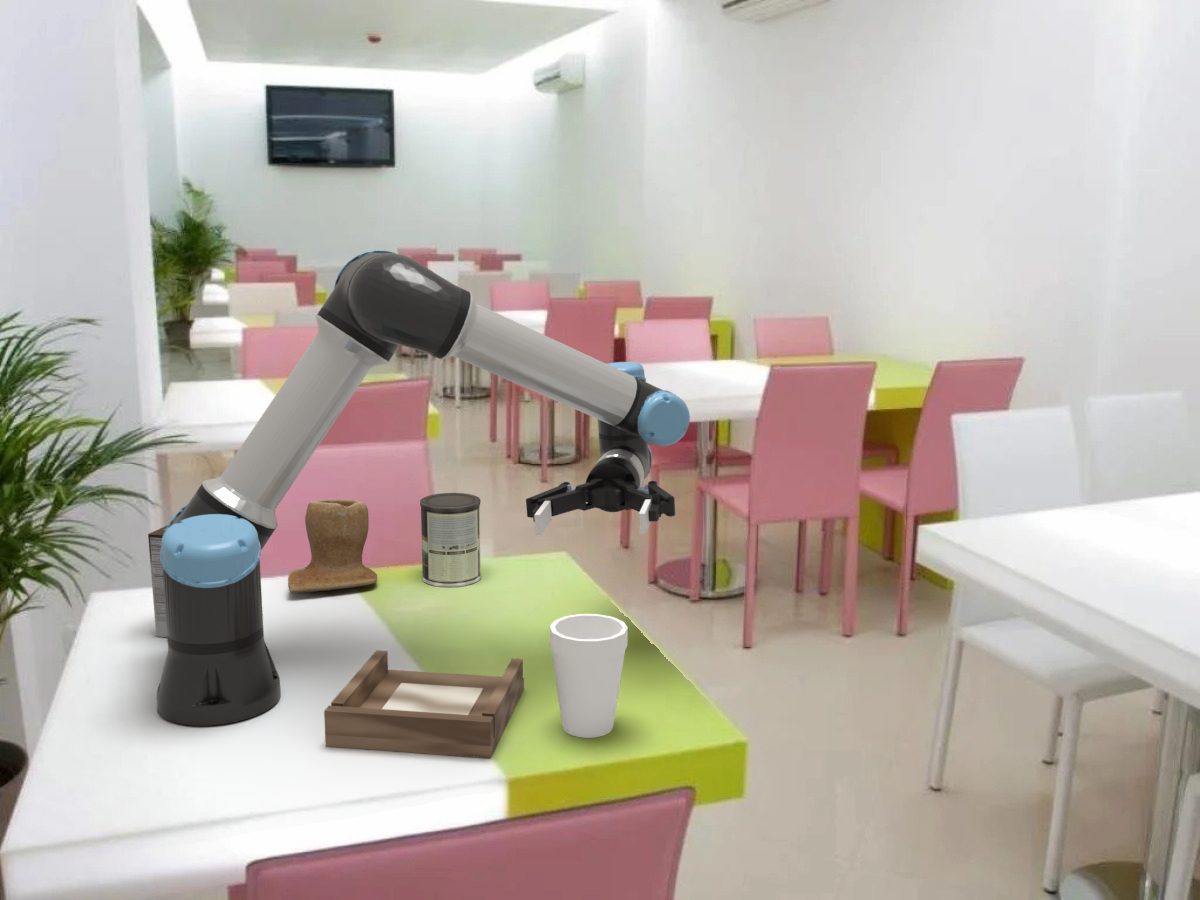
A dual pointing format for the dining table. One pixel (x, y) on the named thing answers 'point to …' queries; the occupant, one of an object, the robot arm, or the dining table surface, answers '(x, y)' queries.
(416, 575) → the dining table surface
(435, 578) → the coffee can
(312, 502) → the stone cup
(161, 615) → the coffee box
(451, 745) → the tray
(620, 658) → the foam cup
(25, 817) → the dining table surface
